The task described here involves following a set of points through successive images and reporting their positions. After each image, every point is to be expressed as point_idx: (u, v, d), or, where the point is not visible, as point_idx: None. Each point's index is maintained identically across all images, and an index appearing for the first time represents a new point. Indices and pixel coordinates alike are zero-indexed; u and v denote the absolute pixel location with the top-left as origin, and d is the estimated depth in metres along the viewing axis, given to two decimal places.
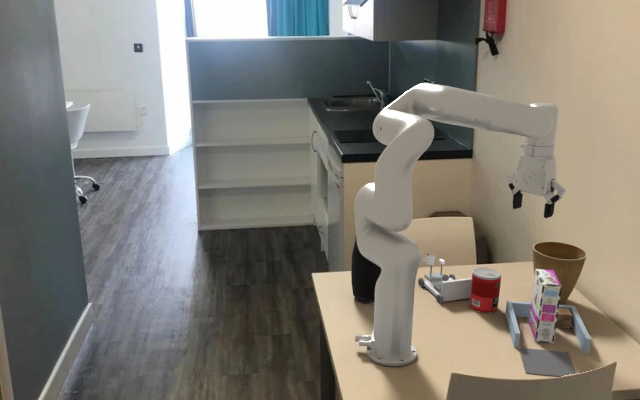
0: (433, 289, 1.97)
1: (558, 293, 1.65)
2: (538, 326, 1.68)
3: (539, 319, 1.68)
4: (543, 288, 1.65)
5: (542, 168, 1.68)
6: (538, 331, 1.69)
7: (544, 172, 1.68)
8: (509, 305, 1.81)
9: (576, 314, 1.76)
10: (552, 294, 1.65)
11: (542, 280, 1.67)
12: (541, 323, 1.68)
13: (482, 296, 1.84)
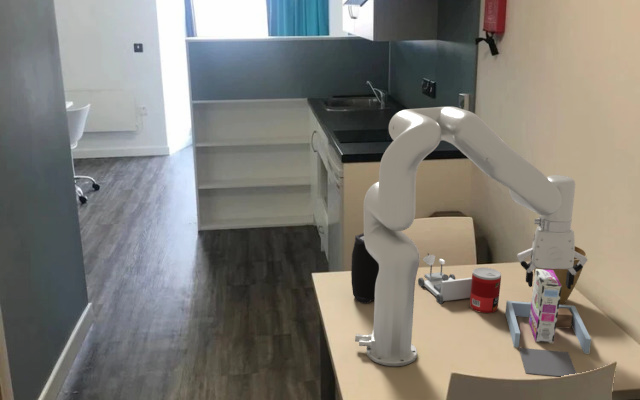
0: (433, 289, 1.97)
1: (558, 293, 1.65)
2: (538, 326, 1.68)
3: (539, 319, 1.68)
4: (543, 288, 1.65)
5: (569, 242, 1.64)
6: (538, 331, 1.69)
7: (571, 245, 1.64)
8: (509, 305, 1.81)
9: (576, 314, 1.76)
10: (552, 294, 1.65)
11: (542, 280, 1.67)
12: (541, 323, 1.68)
13: (482, 296, 1.84)
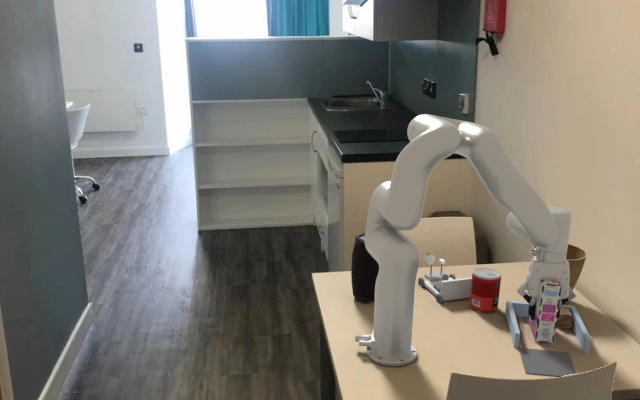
0: (433, 289, 1.97)
1: (558, 293, 1.65)
2: (538, 326, 1.68)
3: (539, 319, 1.68)
4: (543, 288, 1.65)
5: (564, 273, 1.66)
6: (538, 331, 1.68)
7: (566, 276, 1.66)
8: (509, 305, 1.81)
9: (576, 314, 1.76)
10: (552, 294, 1.65)
11: (542, 280, 1.67)
12: (541, 323, 1.68)
13: (482, 296, 1.84)
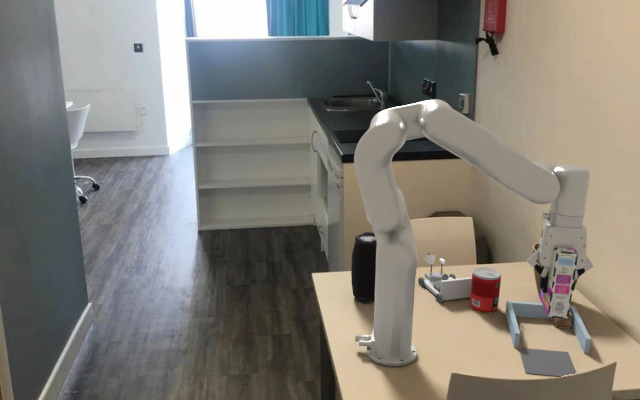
0: (433, 288, 1.97)
1: (574, 261, 1.46)
2: (551, 299, 1.50)
3: (552, 291, 1.49)
4: (557, 256, 1.47)
5: (581, 239, 1.47)
6: (551, 305, 1.50)
7: (583, 243, 1.48)
8: (509, 305, 1.81)
9: (576, 314, 1.76)
10: (567, 262, 1.47)
11: None
12: (554, 296, 1.49)
13: (482, 296, 1.84)
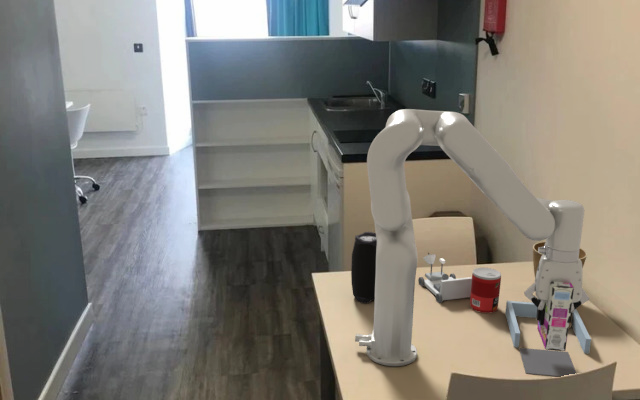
0: (433, 288, 1.97)
1: (570, 295, 1.49)
2: (548, 332, 1.52)
3: (549, 324, 1.51)
4: (553, 290, 1.49)
5: (576, 273, 1.50)
6: (548, 338, 1.52)
7: (579, 277, 1.50)
8: (509, 305, 1.81)
9: (576, 314, 1.76)
10: (563, 296, 1.49)
11: None
12: (551, 329, 1.51)
13: (482, 296, 1.84)
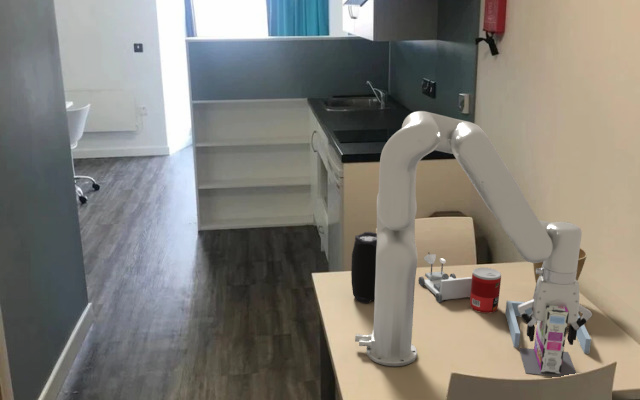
0: (433, 288, 1.97)
1: (565, 319, 1.50)
2: (543, 355, 1.54)
3: (544, 348, 1.53)
4: (548, 314, 1.51)
5: (573, 295, 1.51)
6: (543, 361, 1.54)
7: (576, 298, 1.51)
8: (509, 305, 1.81)
9: None
10: (558, 320, 1.51)
11: (547, 305, 1.53)
12: (547, 352, 1.53)
13: (482, 296, 1.84)
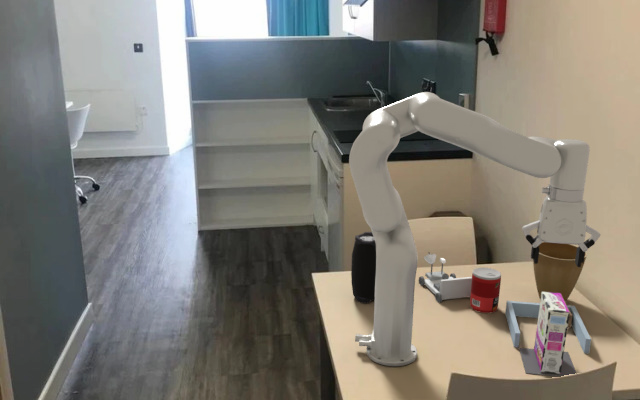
0: (433, 287, 1.98)
1: (565, 320, 1.50)
2: (543, 355, 1.54)
3: (545, 348, 1.53)
4: (549, 314, 1.51)
5: (580, 214, 1.47)
6: (543, 361, 1.54)
7: (583, 217, 1.47)
8: (509, 305, 1.81)
9: (576, 314, 1.76)
10: (559, 321, 1.51)
11: (548, 305, 1.53)
12: (547, 352, 1.53)
13: (482, 296, 1.84)
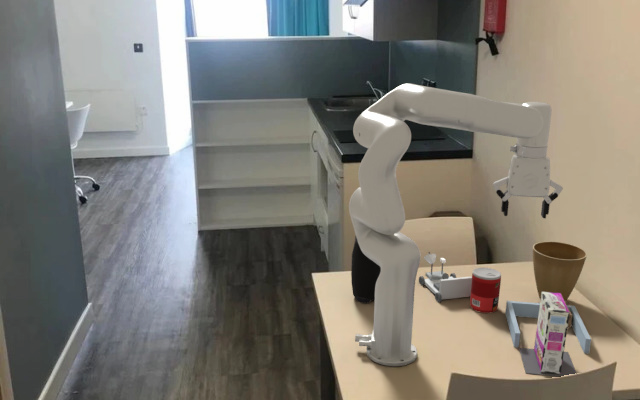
0: (433, 287, 1.98)
1: (565, 320, 1.50)
2: (543, 355, 1.54)
3: (545, 348, 1.53)
4: (549, 314, 1.51)
5: (544, 169, 1.63)
6: (543, 361, 1.54)
7: (547, 172, 1.64)
8: (509, 305, 1.81)
9: (576, 314, 1.76)
10: (559, 321, 1.51)
11: (548, 305, 1.53)
12: (547, 352, 1.53)
13: (482, 296, 1.84)
